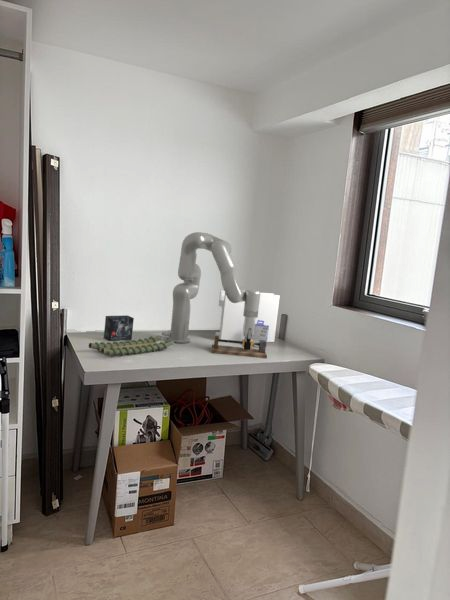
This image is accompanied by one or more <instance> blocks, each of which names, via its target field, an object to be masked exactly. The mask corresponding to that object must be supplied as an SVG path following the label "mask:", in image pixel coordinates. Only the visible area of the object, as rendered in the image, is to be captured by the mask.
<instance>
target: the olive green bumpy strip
mask: <svg viewBox="0 0 450 600" xmlns="http://www.w3.org/2000/svg"><path fill="white" fill-rule="evenodd" d="M161 340H162V338H161V336H159V335H157V336H149V337H148V338H147V337H145V338H138V339H137V340H136V339H133V340H125V341H124V340H121V341H119V342H118V341H112V342H111V341H108V342H106V343H105V342H104V341H102V342H97V341H95V342H89V343H88V349H92V350H93V349H94V350H96V351H100V353H101V354H102V355H107V356H108V357H109V356H114V357H117V355H120V356H121V357H123V356H125V355H128V356H130V355H132V354H134V355H137V354H144V353H148V354H149V353H150V352H153V353H154V352H155V351H156V350H159V351H161V350H162V349H164V350H167V348H168V347H171V346H173V345H175V342H173V341H168V340H165V341H163V342H162V341H161ZM159 341H161V342H159ZM158 342H159V343H158Z"/></svg>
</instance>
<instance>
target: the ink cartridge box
mask: <svg viewBox="0 0 450 600" xmlns="http://www.w3.org/2000/svg"><path fill="white" fill-rule="evenodd" d="M258 322H263V323H258ZM268 330H269V326H268V325H264V321H261V320H258V321H257V324H255V326H254V333H253V336H252V337H251V339H252V340H253V341H254V343H259V342H260V340H266V347H267V345H268V342H267V338H268ZM253 347H256V348H259V345H254V346H253Z"/></svg>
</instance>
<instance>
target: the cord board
mask: <svg viewBox="0 0 450 600" xmlns="http://www.w3.org/2000/svg"><path fill="white" fill-rule="evenodd" d="M219 342H220V343H229V344H230V343H231V344H241V345H242V344H243V341H233V340H223V339H219V336H215V335H214V342H213V344H211V354H219V355H229V356H237V357H239V356H240V357H250V358H260V359H267V357H268V355H267V352H266V348H267V346H266V340H260V342H259V343H254V341H253V343H252V348H250V350H244V347H242V346H240V347H239V346H230V345H222V344H221V345H220V344H219ZM254 345H259V347H258V348H253V347H254Z"/></svg>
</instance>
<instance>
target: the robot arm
mask: <svg viewBox="0 0 450 600" xmlns="http://www.w3.org/2000/svg"><path fill="white" fill-rule="evenodd" d="M198 249H199V250H200V249H201V250H206V251H209V252H211V254H212V256H213V259H214V261H215V263H216V267H217V268H218V271H219V275H220V281H221V285H222V288H223V291H225V293H226V296H227V298H228V299H229V300H230V301H231V302H232V303H238V302H245V304H244V313H243V316H244V317H245V318H244V325H243V332H242V333H243V335H244V336H245V339H246V340H245V344H244V347H243V348H244V350H250V347H251V337H252V336H253V333H254V326H255V318H258V310H259V302H260V293H261V292H260V291H259V290H257V289H249V288H245V287H242V286H240V287H239V285H238V284H237V281H236V278H235V273H236V265H235V262H234V260H233V258H232V255H231V253H232V245H231V244H230V243H229V242H228V241H227V240H224V239H222V238H219V237H218V236H214V235H213V234H211V233H208V232H207V233H206V232H199V231H198V232H192V233H190V234H188V235H187V236H185V237H184V239H183V241H182V243H181V249H180V257H179V264H178V268H177V276H178V278H179V279H180V280H182V281H183V282H180V283H178V284H176V285H175V286H174V288H173V290H172V310H171V311H172V313H171V325H170V330H169V331H162V333H161V334H162V336H165V337H167V338H166V341H173V342H174V344H176V343H178V344H188V343H190V342H191V338H189V327H190V316H191V300H192V299H194V298H196V297H197V295H198V294H199V289H200V281H201V277H202V276H201V275H202V272H201V268H200V266H199V264H197V263H196V262H197V250H198Z"/></svg>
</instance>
